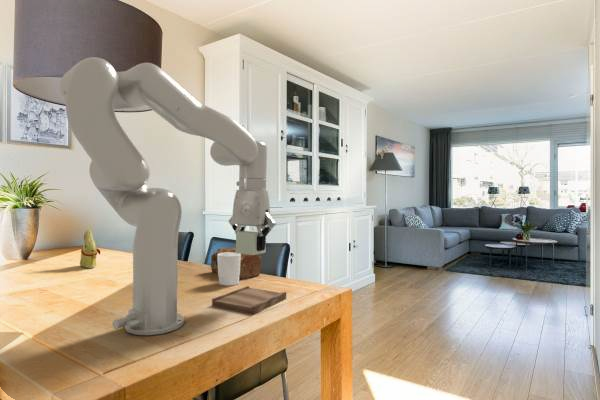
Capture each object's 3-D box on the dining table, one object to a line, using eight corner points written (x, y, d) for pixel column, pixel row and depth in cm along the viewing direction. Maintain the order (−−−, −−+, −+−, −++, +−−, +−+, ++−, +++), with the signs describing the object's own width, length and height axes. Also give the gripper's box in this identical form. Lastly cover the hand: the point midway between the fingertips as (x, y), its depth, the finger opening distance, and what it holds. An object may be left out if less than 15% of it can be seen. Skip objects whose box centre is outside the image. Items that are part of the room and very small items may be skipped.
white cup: (235, 287, 121) (235, 256, 121) (213, 285, 123) (213, 255, 122) (244, 281, 129) (244, 252, 129) (222, 280, 130) (222, 251, 130)
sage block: (253, 255, 100) (254, 232, 100) (235, 253, 103) (236, 231, 103) (265, 252, 106) (266, 231, 106) (248, 250, 109) (248, 230, 109)
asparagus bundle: (85, 270, 144) (85, 231, 144) (77, 266, 152) (77, 229, 151) (104, 267, 149) (104, 230, 148) (95, 263, 157) (95, 228, 156)
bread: (262, 276, 138) (262, 249, 138) (238, 280, 130) (239, 252, 130) (232, 268, 151) (232, 244, 151) (209, 272, 143) (209, 246, 143)
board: (254, 314, 94) (254, 306, 94) (212, 305, 101) (212, 298, 101) (286, 298, 108) (286, 292, 108) (247, 292, 115) (247, 286, 115)
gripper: (219, 184, 105) (218, 248, 105) (271, 185, 97) (269, 253, 97) (236, 185, 112) (234, 245, 112) (285, 186, 104) (283, 250, 104)
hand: (250, 248), depth 105 cm, fingers closed on sage block, 6 cm apart
